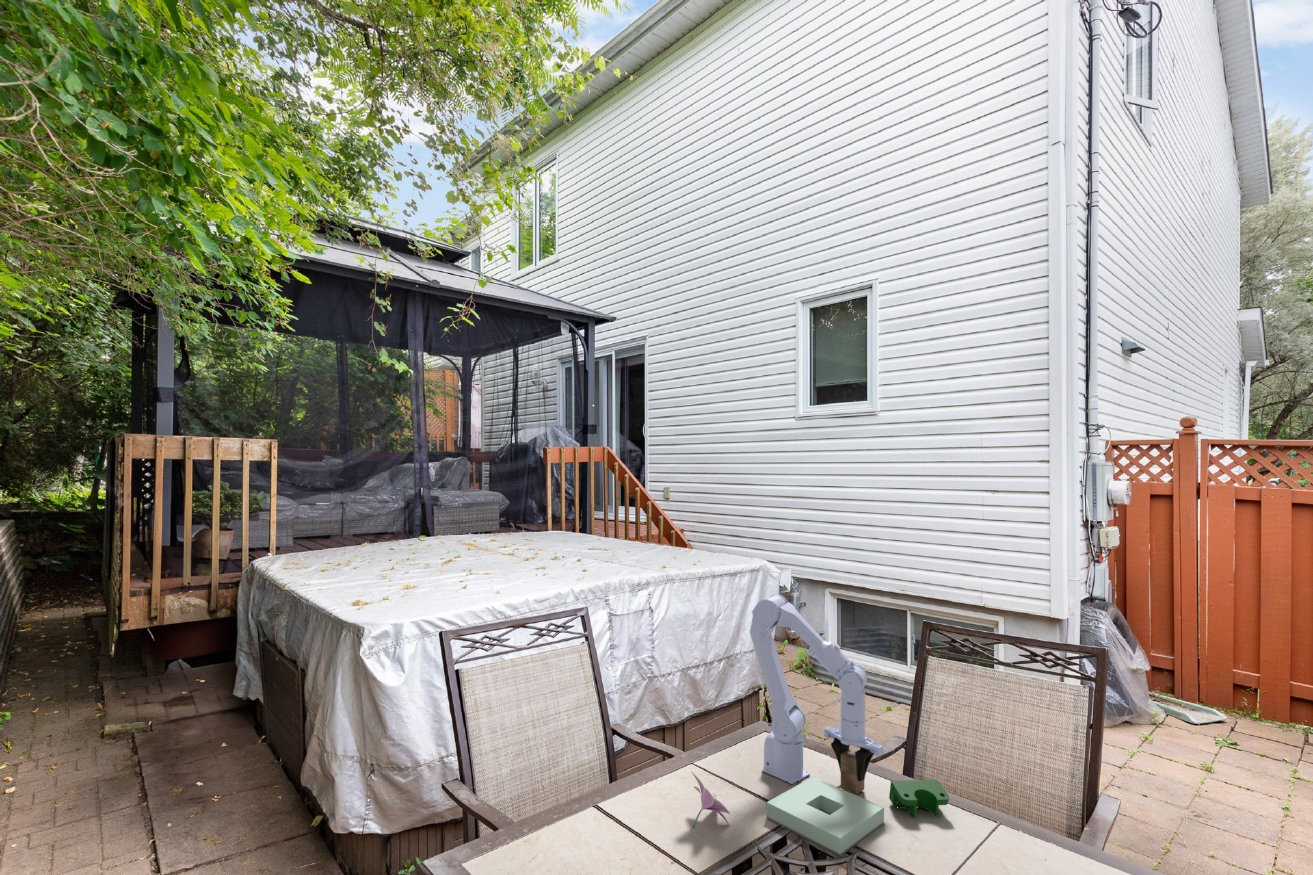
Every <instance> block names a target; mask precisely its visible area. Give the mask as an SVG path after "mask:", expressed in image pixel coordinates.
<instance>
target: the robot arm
mask: <svg viewBox="0 0 1313 875" xmlns="http://www.w3.org/2000/svg"><path fill="white" fill-rule="evenodd" d="M751 613H752V619H751V624H750V629H749V635H750V638H751V642H752V645H753V648H754V650H755V654H756V657H757V661H758V663H759V666H760V669H761V673H762V676H763V679H764V683H765V685H766V689H767V692H768V695H769V698H770V702H771V703H770V716H771V732H769V733H768V734H767V736H766V737H765V739H764V744H763V767H762V768H761V771H762V772H764V773H766V774H768V775H771V776H773V777H775V778H777V779H779V780H781V781H784V782H786V781H787V782H786V783H788V782H789V784H790V785H795V784H797V783H798V782H800V781H802V780H803V779H805V778H807V777H809V776H810V775H811V772H810V771H807V770H805V769H804V735H803V731H802V730H803V728H804V727H805V725H806V721H807V719H806V715H805V713H804V711H803V709H801V708H800V706H799V705H798V701H797V699H796V698H794V696H792V694H791V691H790V687H789V685H788V682H787V678H786V675H785V672H784V670H783V667H782V662H781V660H780V657H779V654H778V651H777V649H776V648H777V647H776V645H775V642H774V639H773V635H772V634H773V632H774V630H775V629H776V626H777V627H780V628H782V627H783V628H787V629H789V628H790V629H791V630H792V631H794V633H795V634H796V635H797V636H798V637H800V639H802V640H803V641H804V642H805V643H806V644H807V645H808V646H809V647H810V648H812V649H813V651H814V652H815V659H816V661H818V662H819V664H821V665H822V666H823V667H824V668H825V669H826V671H827V672H829V673H830V675H831V676H833V678H834V679H836V680H837V685H838V687H839V690H841V696H840V729H839V728H834V727H831V726H826V727H825V728H824V729H823V732H824V734H823V736H824V737H825V738H831V739H833V741H832V742H831V744H830V747H831V748H832V750H833V752H834V756H835V757H836V759H837V763H838V768H839V771H840V773H841V754H842V753H844V752H846V751H847V750H849V749H850V745H851V746H853V747H856V748H859V749H858V750H856V751H855V755H856V760H857V776H858V781H862V780H864V781H865V779H866V775H867V771H868V767H869V765H870V763H871V760H872V759H873V756H877V757H880V756H882V755H884V746H883V745H881V744H880V743H877V741H876V742H875V741H874V740H872V739H871V738H868V737H867V736H866V692H865V690H866V689H865V688H864V687H866V685H867V682H868V675H867V673H866V670H865V669H864V668H863V667H862V665H859V664H857V663H856V662H855V661H854V660H851V659H850V658H848V657H847V655H846V654H844V652H842V651H841V646H840V645H839V644H837V643H836V644H834V642H833V641H825V640H824V639H823V637H821V636H820V635H819V634H818V633H817V632H816V631H815V629H814V628H813V627H812V626H811V625H810V623H808V621H807V620H806V619H805V618H804V617H803V616H802V615H801V613H799V611H798V610H797V609H796V608H795V606H794V605H793V604H792V603H791V602H788V600H787V599H786V598H785V597H784V596H783V595H781V594H778V593H775V594H771V595H769V597H767V598H765V599H761V600H759V601H758V602H757V604H756V605H755V607H754V608H753V610H752V611H751ZM808 775H809V776H808ZM797 781H798V782H797Z"/></svg>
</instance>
